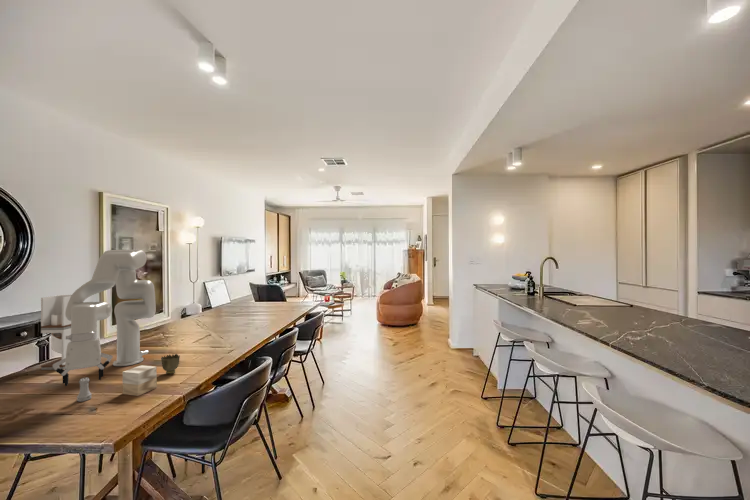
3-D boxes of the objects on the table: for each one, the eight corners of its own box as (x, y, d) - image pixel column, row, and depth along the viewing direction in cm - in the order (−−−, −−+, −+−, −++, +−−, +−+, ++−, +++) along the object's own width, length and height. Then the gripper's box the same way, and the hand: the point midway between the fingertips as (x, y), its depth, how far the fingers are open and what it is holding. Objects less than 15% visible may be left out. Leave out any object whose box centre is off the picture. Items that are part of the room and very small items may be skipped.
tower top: (141, 375, 141) (141, 365, 141) (156, 377, 139) (156, 366, 139) (122, 383, 133) (122, 371, 133) (138, 385, 131) (138, 373, 131)
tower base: (141, 386, 141) (141, 375, 141) (156, 388, 139) (156, 377, 139) (122, 394, 133) (122, 383, 133) (138, 396, 131) (138, 385, 131)
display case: (62, 362, 174) (62, 294, 174) (83, 361, 174) (83, 294, 174) (40, 369, 162) (41, 297, 163) (63, 369, 163) (63, 297, 163)
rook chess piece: (82, 397, 130) (82, 376, 130) (94, 396, 130) (94, 376, 130) (73, 402, 126) (73, 381, 126) (85, 401, 126) (85, 380, 126)
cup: (182, 373, 156) (182, 355, 156) (164, 377, 150) (163, 359, 150) (176, 369, 161) (176, 352, 161) (159, 373, 155) (159, 356, 156)
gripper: (51, 342, 120) (50, 390, 119) (112, 335, 130) (112, 379, 130) (54, 338, 126) (54, 384, 125) (112, 332, 136) (112, 374, 136)
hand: (83, 382), depth 128 cm, fingers open, 9 cm apart
